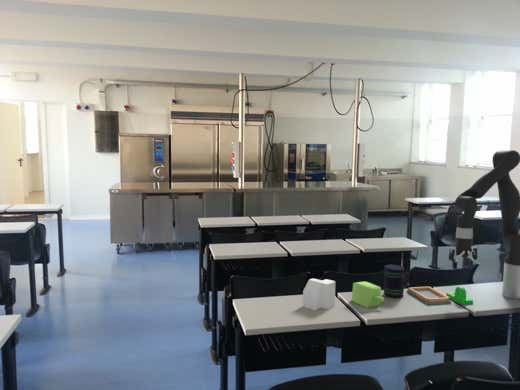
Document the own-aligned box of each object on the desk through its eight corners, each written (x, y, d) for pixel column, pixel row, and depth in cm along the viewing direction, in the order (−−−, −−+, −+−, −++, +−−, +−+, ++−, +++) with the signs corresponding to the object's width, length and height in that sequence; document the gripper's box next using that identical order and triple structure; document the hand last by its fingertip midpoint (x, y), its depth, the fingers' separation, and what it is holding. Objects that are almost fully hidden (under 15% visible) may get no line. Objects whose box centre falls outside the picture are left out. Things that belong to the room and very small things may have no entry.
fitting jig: (427, 290, 224) (427, 285, 224) (451, 303, 204) (451, 298, 204) (407, 291, 222) (407, 287, 221) (429, 305, 202) (429, 300, 202)
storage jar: (382, 297, 213) (383, 268, 211) (383, 291, 222) (384, 263, 221) (403, 299, 210) (404, 270, 208) (403, 293, 219) (404, 265, 217)
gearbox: (389, 308, 199) (391, 289, 198) (374, 311, 194) (376, 291, 193) (361, 296, 214) (363, 278, 213) (347, 299, 209) (349, 280, 208)
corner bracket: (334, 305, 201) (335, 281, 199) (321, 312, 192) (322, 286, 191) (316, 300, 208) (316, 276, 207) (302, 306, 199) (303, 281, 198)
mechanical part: (472, 304, 204) (473, 288, 204) (462, 304, 203) (462, 288, 202) (456, 295, 216) (457, 280, 215) (446, 296, 215) (447, 281, 214)
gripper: (471, 234, 211) (470, 265, 213) (446, 235, 209) (444, 267, 210) (482, 237, 204) (480, 270, 206) (456, 238, 201) (454, 271, 203)
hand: (462, 268), depth 208 cm, fingers open, 8 cm apart
